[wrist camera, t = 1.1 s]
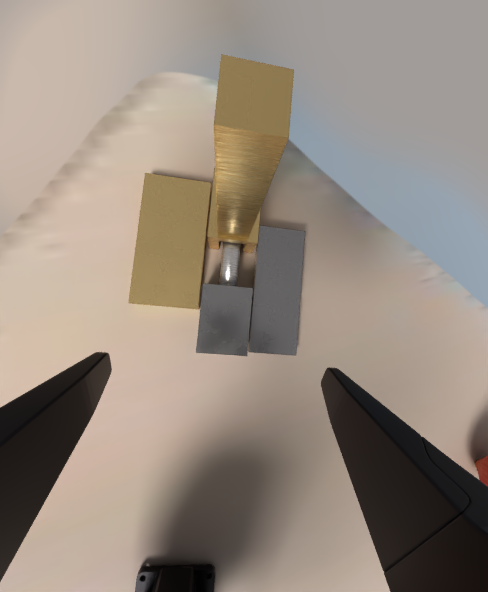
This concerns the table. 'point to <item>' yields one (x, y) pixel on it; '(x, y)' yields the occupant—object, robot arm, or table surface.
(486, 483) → the onion
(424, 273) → the table surface
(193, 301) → the brass block assembly
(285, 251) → the fixed leaf
